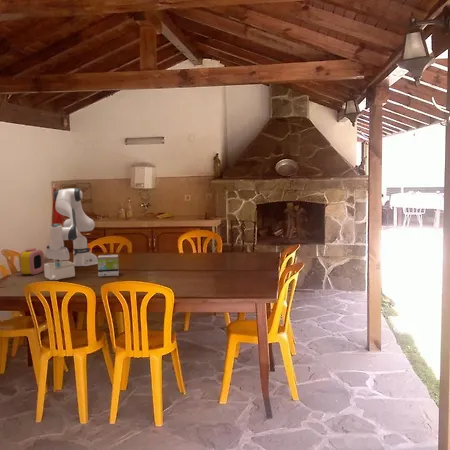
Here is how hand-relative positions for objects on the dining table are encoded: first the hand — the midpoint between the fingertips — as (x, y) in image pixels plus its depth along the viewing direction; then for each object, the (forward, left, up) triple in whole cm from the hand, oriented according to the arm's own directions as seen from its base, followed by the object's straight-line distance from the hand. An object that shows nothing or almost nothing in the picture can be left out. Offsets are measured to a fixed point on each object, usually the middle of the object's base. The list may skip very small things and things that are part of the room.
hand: (58, 265), depth 355 cm
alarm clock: (+8, -39, -11) cm, 42 cm away
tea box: (-34, +8, -11) cm, 37 cm away
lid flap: (-5, -2, -10) cm, 11 cm away
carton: (-4, -12, -11) cm, 17 cm away
